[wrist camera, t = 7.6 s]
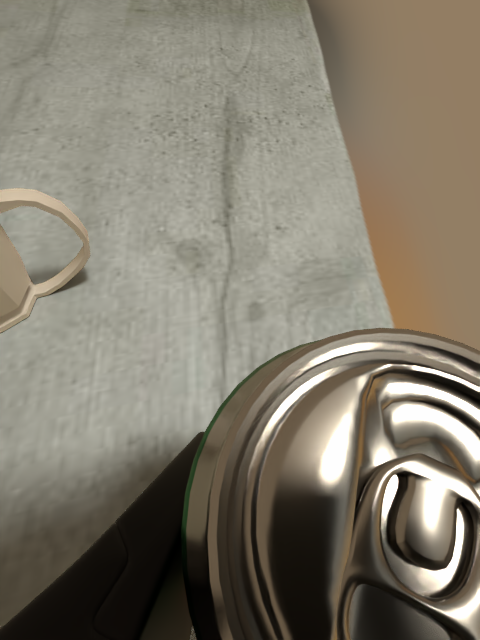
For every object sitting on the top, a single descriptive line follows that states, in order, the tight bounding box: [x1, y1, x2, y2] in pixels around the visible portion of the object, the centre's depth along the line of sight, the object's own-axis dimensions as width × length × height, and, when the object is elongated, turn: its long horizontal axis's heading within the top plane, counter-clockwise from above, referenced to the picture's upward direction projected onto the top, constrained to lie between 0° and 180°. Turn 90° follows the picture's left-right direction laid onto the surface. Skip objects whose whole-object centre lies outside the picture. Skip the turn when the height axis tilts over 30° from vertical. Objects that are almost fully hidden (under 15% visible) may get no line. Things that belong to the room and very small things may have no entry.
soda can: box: [181, 328, 480, 640], centre depth 8 cm, size 5×5×12 cm
